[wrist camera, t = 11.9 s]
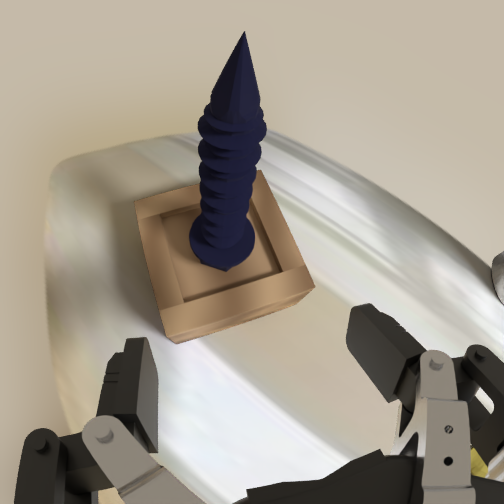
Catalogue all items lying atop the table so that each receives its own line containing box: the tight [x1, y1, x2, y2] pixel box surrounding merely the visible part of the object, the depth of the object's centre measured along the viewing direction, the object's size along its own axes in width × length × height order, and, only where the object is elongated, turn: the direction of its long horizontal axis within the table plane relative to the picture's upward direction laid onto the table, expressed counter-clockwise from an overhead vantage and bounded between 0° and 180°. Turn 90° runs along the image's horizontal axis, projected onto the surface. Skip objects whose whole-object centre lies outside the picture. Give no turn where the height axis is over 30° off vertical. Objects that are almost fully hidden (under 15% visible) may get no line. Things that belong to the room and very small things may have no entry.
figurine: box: [471, 447, 488, 478], centre depth 18 cm, size 12×9×15 cm
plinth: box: [134, 170, 315, 344], centre depth 26 cm, size 12×12×6 cm
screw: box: [189, 31, 267, 272], centre depth 16 cm, size 18×5×5 cm
